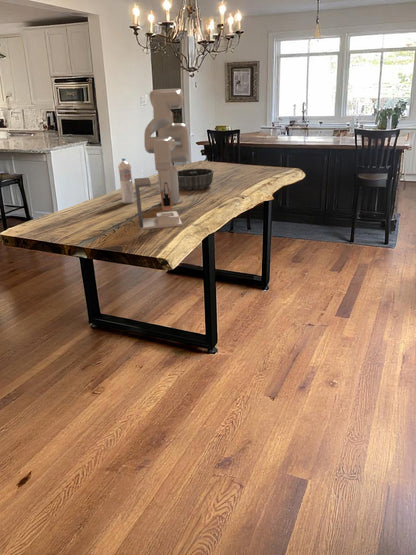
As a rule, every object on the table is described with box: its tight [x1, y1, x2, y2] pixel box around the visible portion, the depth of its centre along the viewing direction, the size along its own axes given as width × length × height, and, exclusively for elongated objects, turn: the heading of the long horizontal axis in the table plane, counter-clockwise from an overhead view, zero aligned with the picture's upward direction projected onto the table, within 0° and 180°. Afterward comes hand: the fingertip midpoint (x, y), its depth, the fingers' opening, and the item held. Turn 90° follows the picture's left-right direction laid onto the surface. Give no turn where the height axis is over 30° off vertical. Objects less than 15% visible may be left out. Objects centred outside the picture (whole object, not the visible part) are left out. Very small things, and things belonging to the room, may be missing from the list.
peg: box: [160, 190, 173, 212], centre depth 223 cm, size 4×4×9 cm
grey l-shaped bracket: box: [133, 177, 152, 229], centre depth 221 cm, size 15×7×20 cm, turn 10°
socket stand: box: [138, 210, 183, 231], centre depth 226 cm, size 15×20×4 cm
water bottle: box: [118, 157, 135, 205], centre depth 263 cm, size 7×7×25 cm
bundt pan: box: [177, 168, 215, 191], centre depth 295 cm, size 26×26×10 cm
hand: (166, 204), depth 224 cm, fingers closed on peg, 4 cm apart
